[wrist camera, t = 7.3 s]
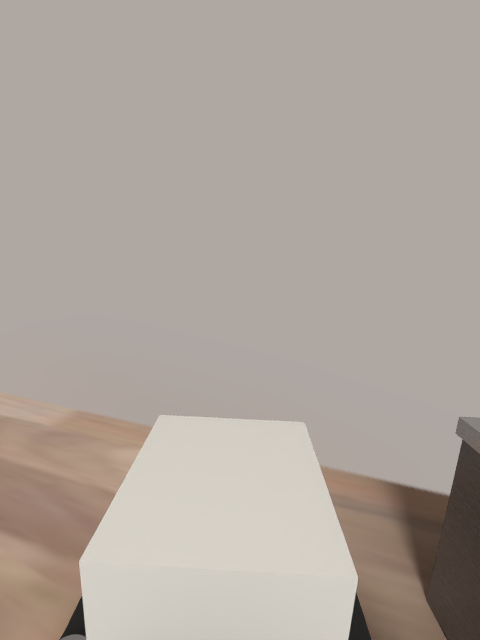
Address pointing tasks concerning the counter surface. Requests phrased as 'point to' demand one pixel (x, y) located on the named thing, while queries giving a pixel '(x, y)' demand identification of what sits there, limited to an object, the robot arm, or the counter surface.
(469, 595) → the block
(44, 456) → the counter surface
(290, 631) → the cream block
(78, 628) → the robot arm
